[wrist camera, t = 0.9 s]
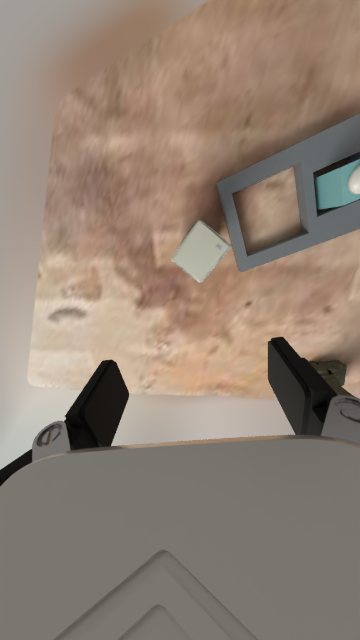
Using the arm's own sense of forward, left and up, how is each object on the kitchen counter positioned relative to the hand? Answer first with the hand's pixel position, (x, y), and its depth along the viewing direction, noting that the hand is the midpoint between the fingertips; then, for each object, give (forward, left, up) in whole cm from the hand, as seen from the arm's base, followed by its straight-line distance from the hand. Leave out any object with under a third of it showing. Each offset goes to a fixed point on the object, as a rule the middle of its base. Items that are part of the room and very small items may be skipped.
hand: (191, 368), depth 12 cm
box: (-3, -5, -25) cm, 25 cm away
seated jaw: (-22, -5, -24) cm, 33 cm away
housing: (-17, -5, -24) cm, 30 cm away
